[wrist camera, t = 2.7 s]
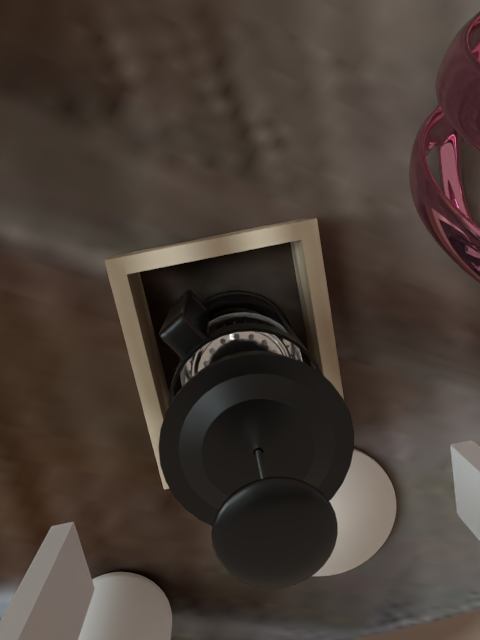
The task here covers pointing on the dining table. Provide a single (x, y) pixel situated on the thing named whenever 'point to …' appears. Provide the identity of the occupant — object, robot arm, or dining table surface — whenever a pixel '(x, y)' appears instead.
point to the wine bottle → (127, 609)
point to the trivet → (361, 514)
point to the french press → (253, 438)
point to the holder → (130, 265)
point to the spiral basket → (451, 151)
